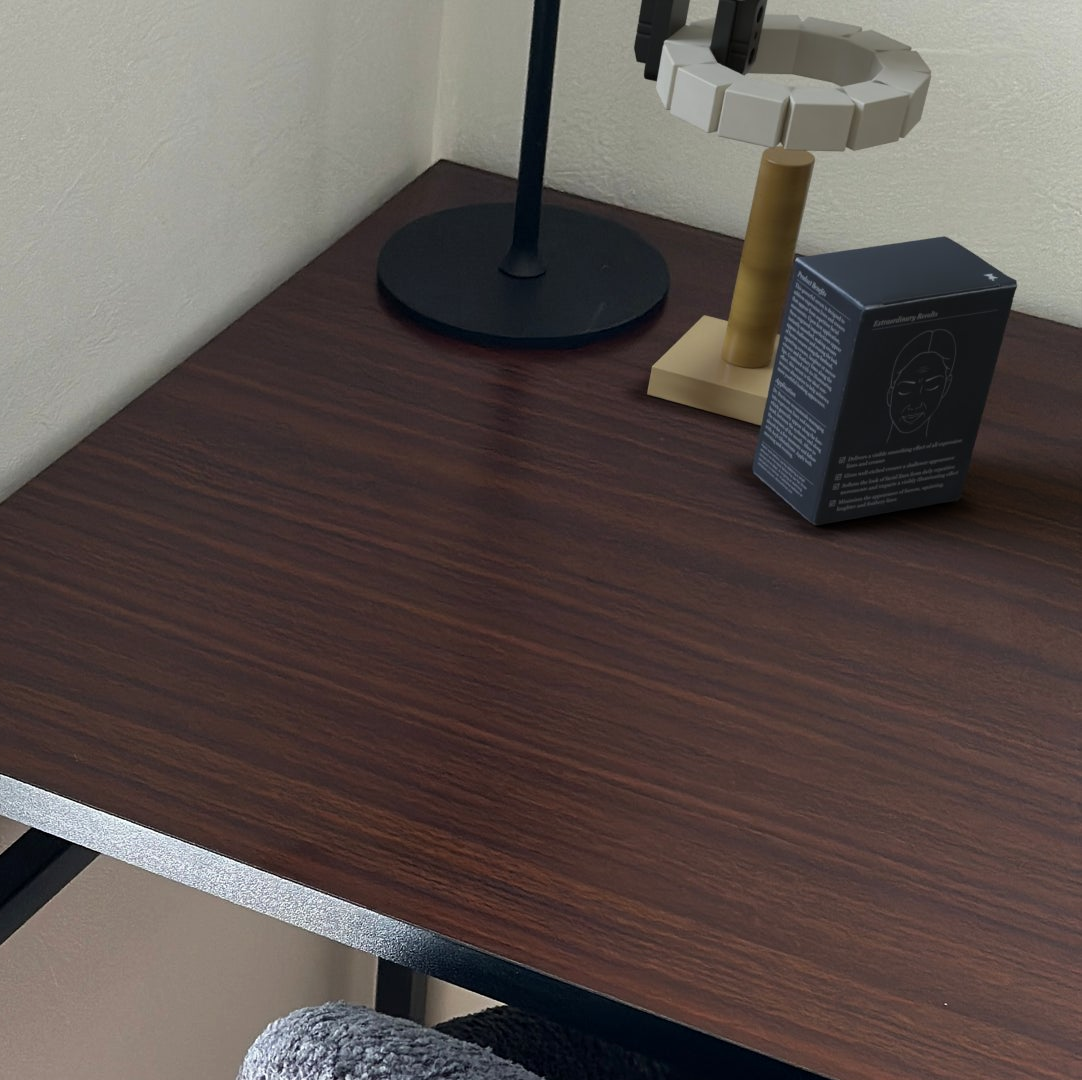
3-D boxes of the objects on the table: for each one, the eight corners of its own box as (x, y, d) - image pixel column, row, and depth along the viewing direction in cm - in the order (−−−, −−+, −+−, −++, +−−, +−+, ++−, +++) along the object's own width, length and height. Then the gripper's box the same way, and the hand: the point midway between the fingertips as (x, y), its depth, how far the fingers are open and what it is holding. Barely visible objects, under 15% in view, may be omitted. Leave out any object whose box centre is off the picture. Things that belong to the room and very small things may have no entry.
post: (832, 377, 117) (886, 148, 110) (784, 432, 112) (838, 197, 105) (698, 342, 120) (743, 116, 112) (646, 394, 115) (689, 162, 108)
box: (891, 448, 111) (947, 231, 105) (961, 505, 107) (1024, 283, 100) (745, 471, 109) (793, 252, 102) (811, 530, 105) (865, 305, 98)
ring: (947, 91, 94) (959, 45, 93) (874, 171, 88) (885, 123, 86) (708, 42, 98) (716, -3, 97) (620, 115, 91) (628, 68, 90)
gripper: (1001, -406, 83) (885, 89, 94) (632, -452, 88) (564, 22, 99) (943, -371, 78) (828, 148, 89) (555, -421, 83) (492, 75, 94)
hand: (689, 79), depth 94 cm, fingers closed on ring, 2 cm apart
